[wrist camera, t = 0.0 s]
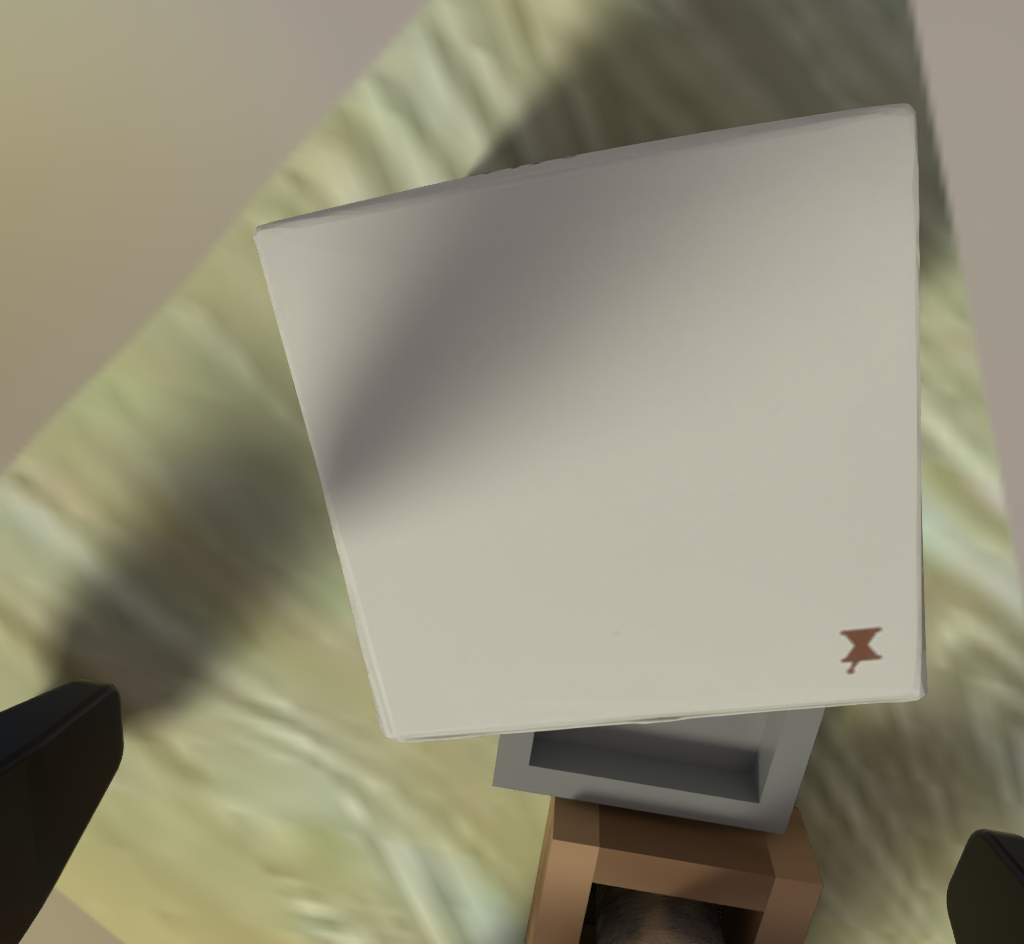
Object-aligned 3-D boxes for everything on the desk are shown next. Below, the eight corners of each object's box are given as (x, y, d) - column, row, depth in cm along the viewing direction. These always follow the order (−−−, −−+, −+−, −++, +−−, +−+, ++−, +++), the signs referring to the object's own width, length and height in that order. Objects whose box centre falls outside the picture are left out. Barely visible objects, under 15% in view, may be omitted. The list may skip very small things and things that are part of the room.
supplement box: (734, 138, 19) (957, 82, 8) (752, 427, 22) (944, 725, 10) (439, 189, 20) (232, 211, 9) (488, 460, 23) (381, 765, 11)
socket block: (742, 979, 29) (759, 1065, 26) (525, 941, 29) (518, 1022, 26) (798, 808, 26) (823, 885, 23) (556, 768, 26) (552, 839, 24)
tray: (772, 791, 26) (784, 834, 24) (498, 746, 26) (492, 785, 25) (847, 544, 23) (868, 574, 21) (535, 497, 23) (531, 522, 21)
